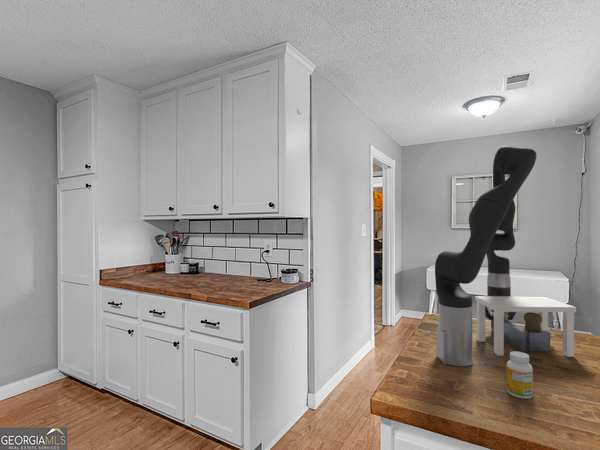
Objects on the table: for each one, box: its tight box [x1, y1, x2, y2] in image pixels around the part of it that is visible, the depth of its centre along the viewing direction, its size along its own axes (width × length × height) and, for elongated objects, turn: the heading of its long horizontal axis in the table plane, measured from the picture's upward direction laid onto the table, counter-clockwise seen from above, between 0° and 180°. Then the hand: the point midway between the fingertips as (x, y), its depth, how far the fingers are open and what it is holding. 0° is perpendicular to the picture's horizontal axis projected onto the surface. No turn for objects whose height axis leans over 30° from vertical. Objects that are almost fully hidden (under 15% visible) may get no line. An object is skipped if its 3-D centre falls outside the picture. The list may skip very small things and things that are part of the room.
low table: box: [474, 295, 577, 358], centre depth 111 cm, size 24×14×16 cm, turn 86°
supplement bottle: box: [506, 350, 534, 400], centre depth 82 cm, size 5×5×10 cm
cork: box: [523, 312, 542, 330], centre depth 113 cm, size 6×6×11 cm
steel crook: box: [490, 319, 551, 352], centre depth 118 cm, size 9×20×6 cm, turn 176°
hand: (499, 330), depth 125 cm, fingers closed on steel crook, 2 cm apart
